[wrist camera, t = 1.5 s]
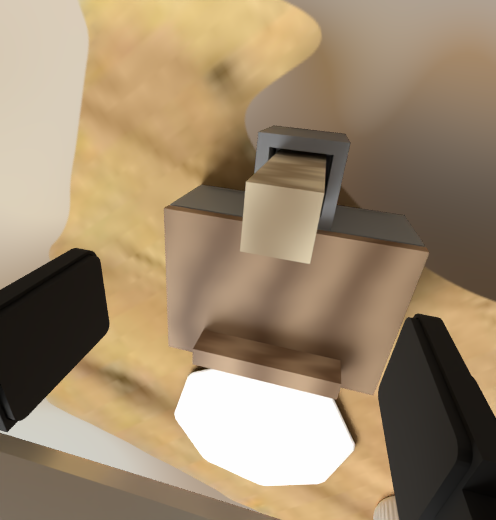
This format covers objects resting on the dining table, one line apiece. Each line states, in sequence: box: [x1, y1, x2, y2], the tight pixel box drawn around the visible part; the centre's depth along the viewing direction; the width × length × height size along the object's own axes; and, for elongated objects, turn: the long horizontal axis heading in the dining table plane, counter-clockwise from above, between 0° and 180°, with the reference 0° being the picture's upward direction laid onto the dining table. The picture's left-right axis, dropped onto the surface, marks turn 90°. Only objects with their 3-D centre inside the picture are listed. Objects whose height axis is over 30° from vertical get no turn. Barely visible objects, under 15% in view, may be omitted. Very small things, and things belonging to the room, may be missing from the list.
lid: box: [164, 205, 429, 400], centre depth 29 cm, size 22×16×4 cm
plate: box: [174, 368, 355, 486], centre depth 51 cm, size 28×28×2 cm
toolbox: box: [170, 126, 425, 247], centre depth 33 cm, size 22×23×8 cm
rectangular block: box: [240, 149, 326, 264], centre depth 23 cm, size 4×4×14 cm
